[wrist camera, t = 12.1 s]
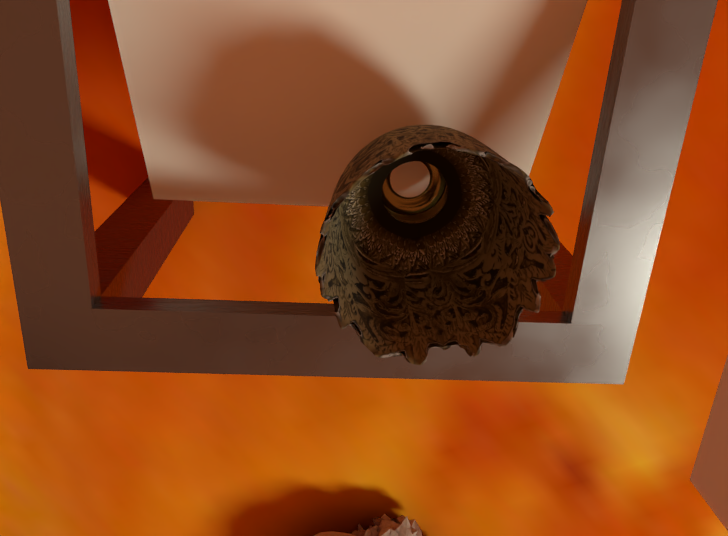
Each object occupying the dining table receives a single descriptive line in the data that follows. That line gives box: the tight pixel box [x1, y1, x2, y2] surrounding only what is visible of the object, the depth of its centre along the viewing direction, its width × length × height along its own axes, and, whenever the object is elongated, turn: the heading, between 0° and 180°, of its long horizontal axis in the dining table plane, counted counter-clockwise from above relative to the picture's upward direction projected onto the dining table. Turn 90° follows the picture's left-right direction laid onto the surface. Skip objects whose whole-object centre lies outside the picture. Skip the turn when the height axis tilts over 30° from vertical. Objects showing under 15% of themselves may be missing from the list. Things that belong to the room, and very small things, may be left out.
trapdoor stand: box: [0, 0, 718, 384], centre depth 28 cm, size 22×22×18 cm
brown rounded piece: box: [315, 125, 560, 365], centre depth 23 cm, size 8×7×8 cm
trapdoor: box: [108, 0, 587, 206], centre depth 23 cm, size 17×16×1 cm
